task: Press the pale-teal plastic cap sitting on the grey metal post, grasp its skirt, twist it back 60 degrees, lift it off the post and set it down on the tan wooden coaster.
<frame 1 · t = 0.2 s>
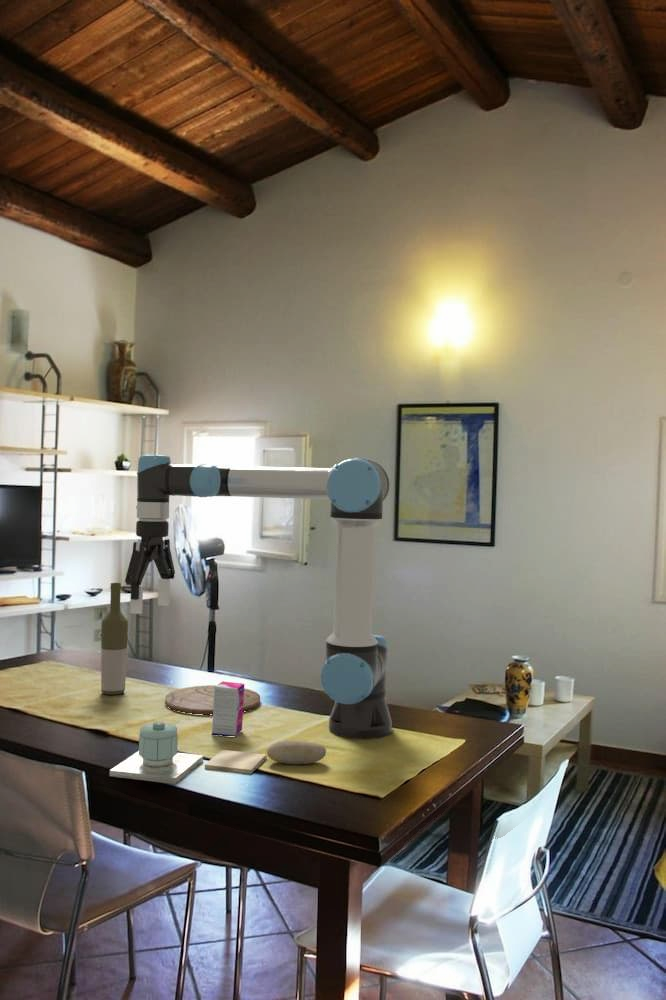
hand: (150, 609, 199), 28 cm above the table, fingers open, 13 cm apart
trivet: (213, 704, 223), on the table
coaster: (236, 763, 176), on the table
supplement box: (227, 734, 196), on the table
stone: (296, 764, 177), on the table
bottle: (113, 693, 229), on the table
post: (157, 768, 171), on the table
cap: (158, 753, 171), point 3 cm above the table, touching post
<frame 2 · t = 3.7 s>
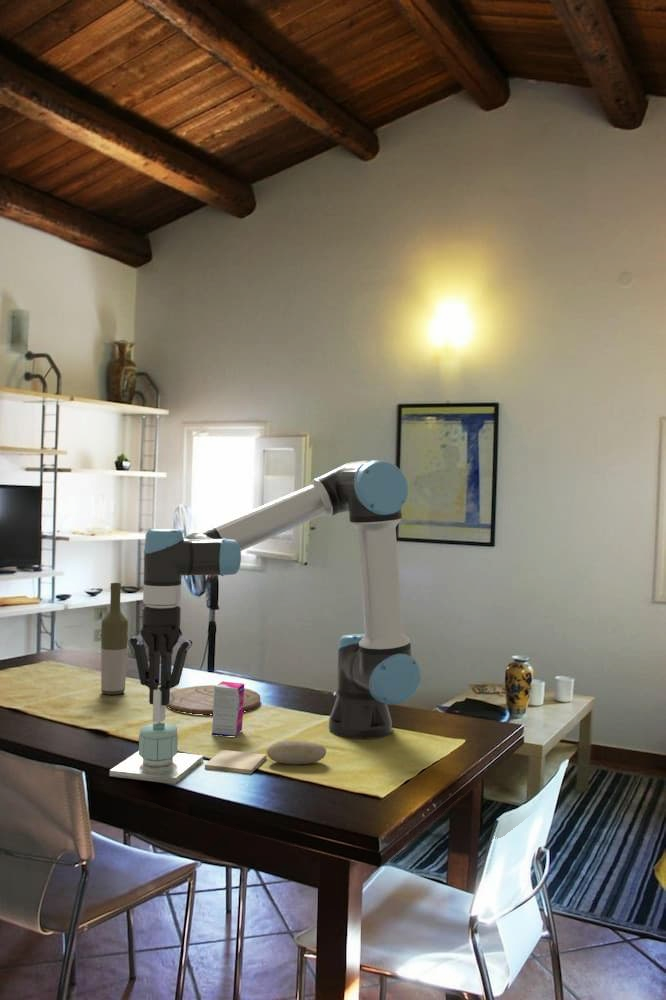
hand: (158, 720, 171), 10 cm above the table, fingers closed
nothing on the table moved.
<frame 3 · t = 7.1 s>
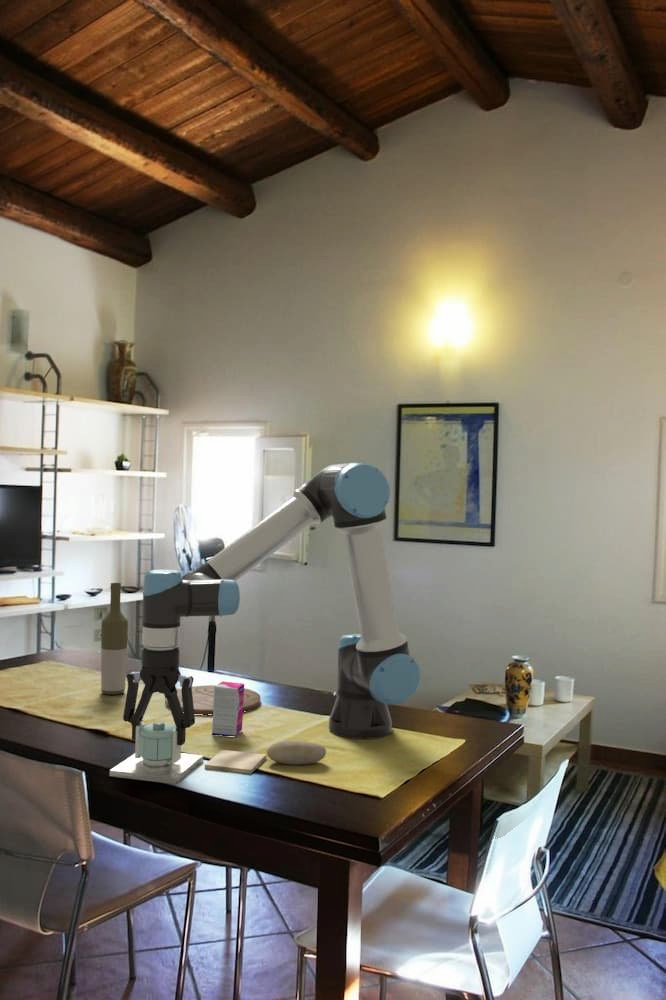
hand: (157, 758, 171), 2 cm above the table, fingers closed on cap, 7 cm apart
cap: (158, 753, 171), point 3 cm above the table, touching gripper, post
everything else where it was.
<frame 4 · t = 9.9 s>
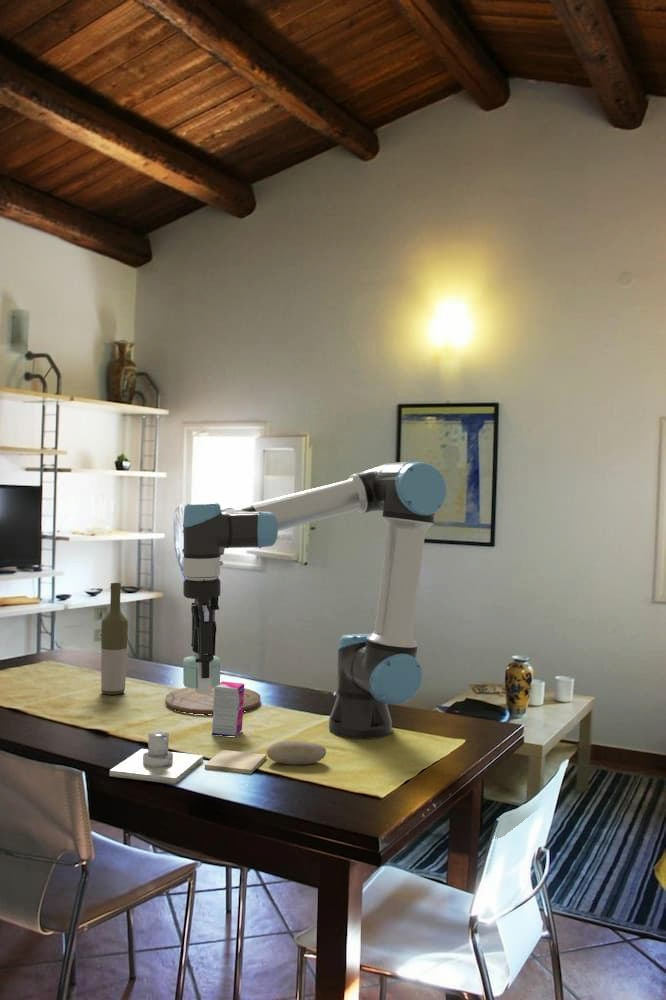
hand: (202, 688, 173), 16 cm above the table, fingers closed on cap, 7 cm apart
cap: (201, 683, 173), point 17 cm above the table, touching gripper
everything else where it was.
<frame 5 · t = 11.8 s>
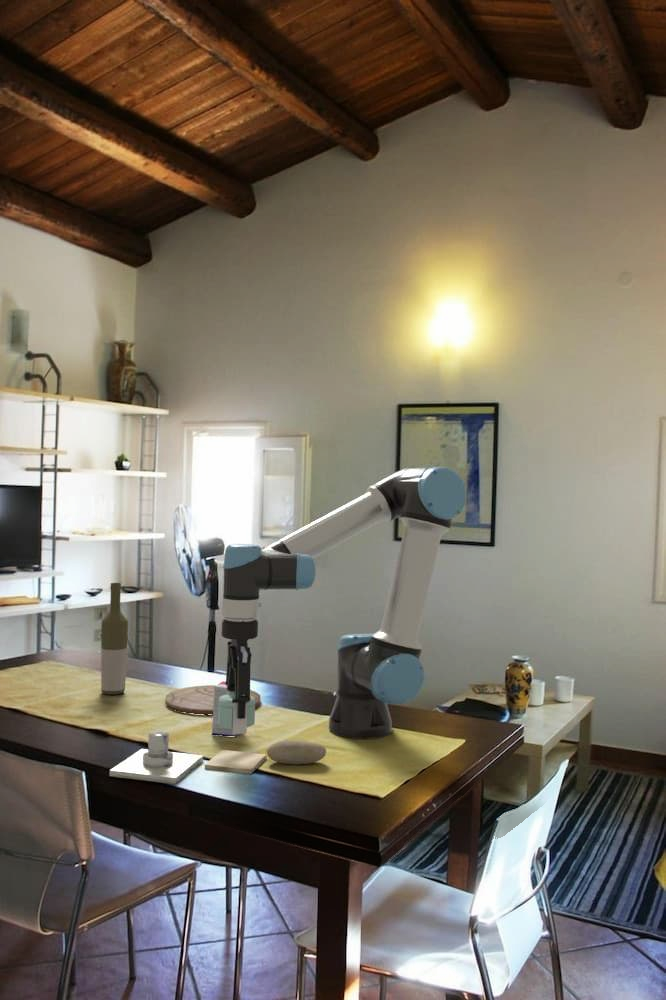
hand: (236, 727, 175), 8 cm above the table, fingers closed on cap, 7 cm apart
cap: (236, 723, 175), point 8 cm above the table, touching gripper
everything else where it was.
when the fingers open (2 cm above the table, at t = 13.1 s): cap drops 2 cm, resting on coaster.
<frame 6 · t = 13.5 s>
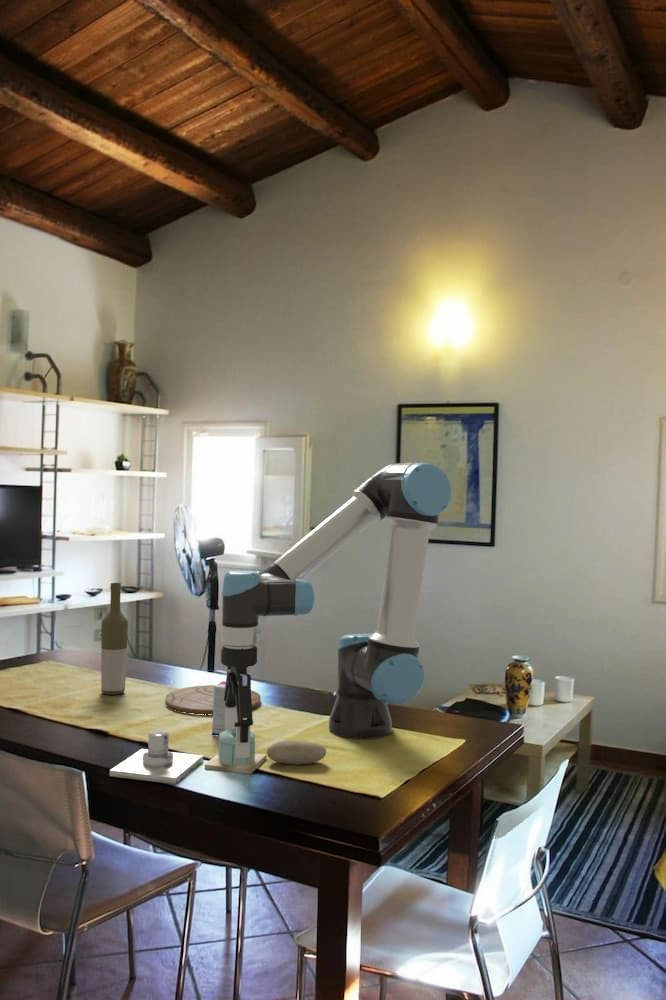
hand: (236, 747, 176), 3 cm above the table, fingers open, 13 cm apart
cap: (236, 759, 176), point 1 cm above the table, touching coaster
everything else where it was.
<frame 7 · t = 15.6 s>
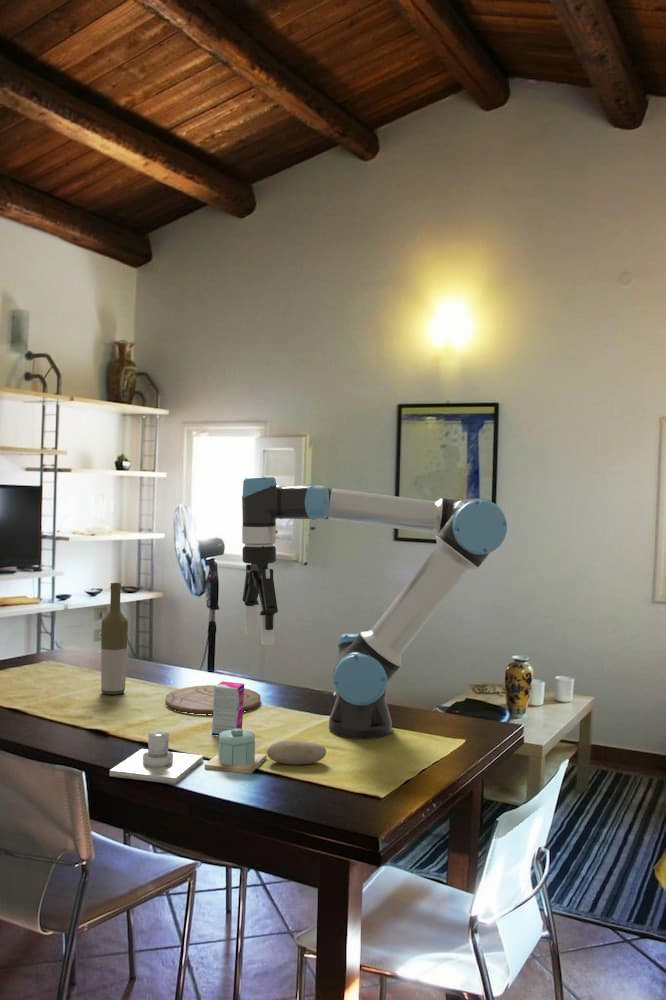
hand: (259, 639, 190), 23 cm above the table, fingers open, 13 cm apart
nothing on the table moved.
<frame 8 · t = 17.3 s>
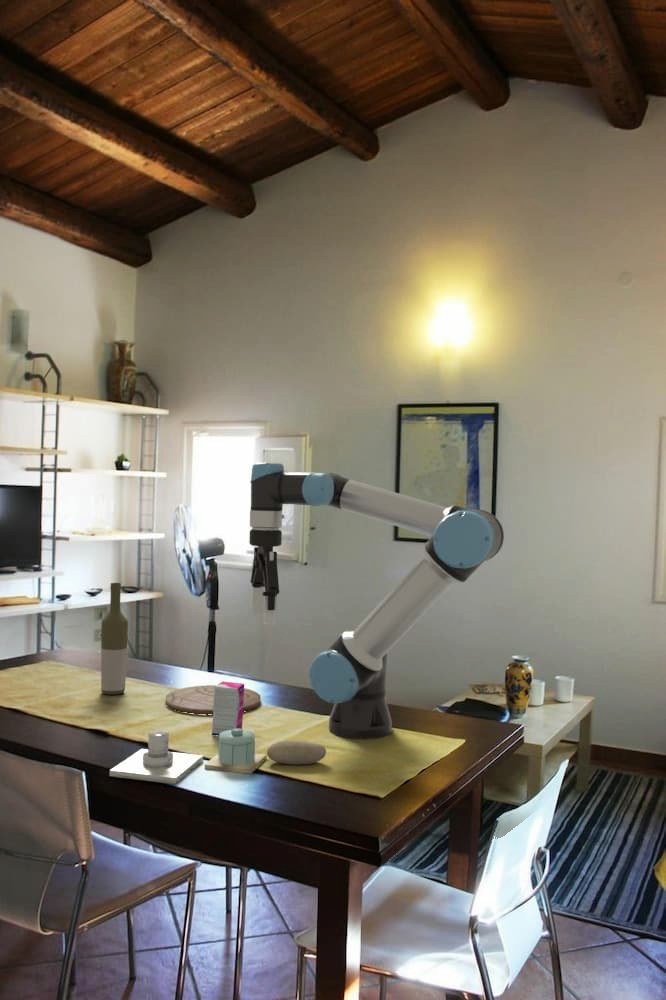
hand: (263, 619, 197), 27 cm above the table, fingers open, 13 cm apart
nothing on the table moved.
at the end: cap inside the target area on the coaster (0.0 cm from its centre), point 0.8 cm above the coaster's base; cap tilted 0°; the gripper is holding nothing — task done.
